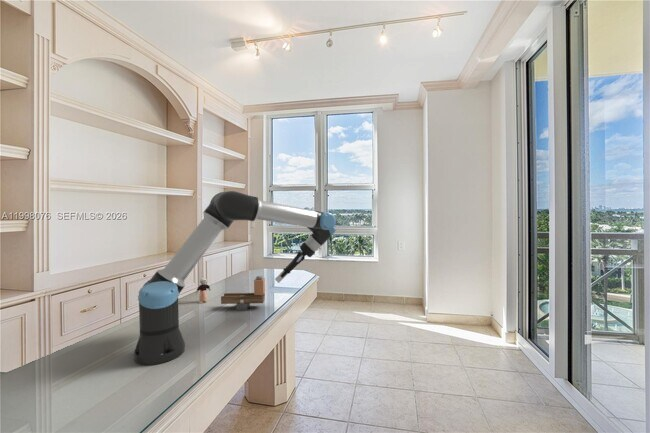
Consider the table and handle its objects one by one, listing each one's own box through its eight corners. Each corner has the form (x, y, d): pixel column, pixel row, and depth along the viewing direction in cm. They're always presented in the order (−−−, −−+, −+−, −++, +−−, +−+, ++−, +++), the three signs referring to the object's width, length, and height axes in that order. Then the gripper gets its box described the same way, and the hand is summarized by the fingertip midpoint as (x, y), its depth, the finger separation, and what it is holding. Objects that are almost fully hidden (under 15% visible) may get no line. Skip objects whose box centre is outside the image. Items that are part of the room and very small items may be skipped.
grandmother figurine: (199, 304, 155) (198, 279, 154) (195, 303, 157) (194, 278, 157) (212, 300, 161) (212, 277, 160) (208, 299, 163) (208, 276, 163)
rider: (263, 298, 147) (263, 277, 147) (254, 298, 147) (254, 277, 147) (264, 295, 152) (264, 275, 151) (256, 295, 152) (255, 275, 151)
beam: (262, 309, 146) (262, 296, 146) (220, 310, 146) (220, 296, 146) (265, 305, 153) (264, 292, 153) (225, 305, 153) (225, 292, 153)
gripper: (315, 254, 143) (280, 289, 143) (315, 249, 156) (283, 282, 156) (304, 243, 143) (269, 278, 143) (305, 239, 156) (273, 272, 156)
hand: (277, 280), depth 150 cm, fingers closed
